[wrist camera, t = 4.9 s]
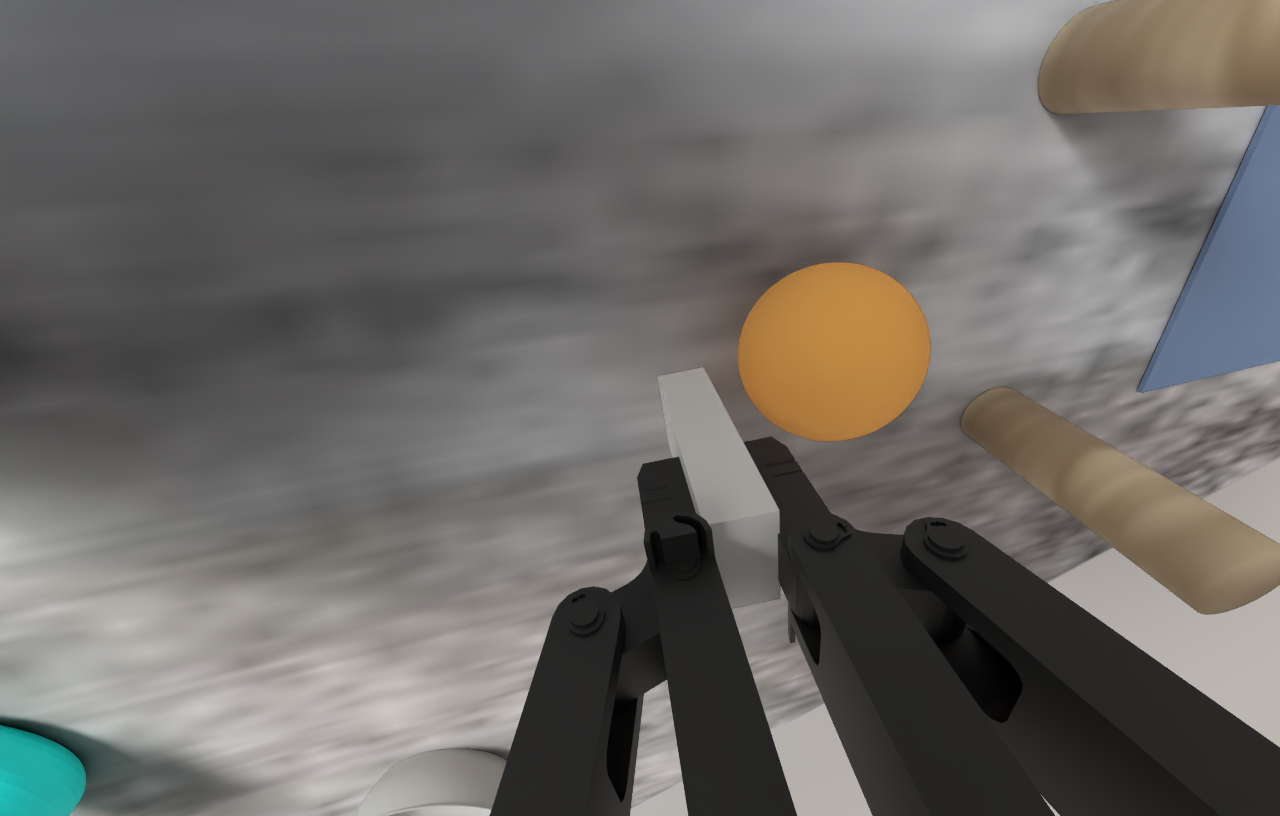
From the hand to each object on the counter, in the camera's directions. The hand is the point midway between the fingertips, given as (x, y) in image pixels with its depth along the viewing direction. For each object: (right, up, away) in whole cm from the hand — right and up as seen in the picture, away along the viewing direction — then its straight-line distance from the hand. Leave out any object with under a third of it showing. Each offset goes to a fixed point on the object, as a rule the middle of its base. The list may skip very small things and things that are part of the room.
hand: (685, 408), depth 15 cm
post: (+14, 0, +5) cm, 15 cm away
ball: (+4, +2, -1) cm, 5 cm away
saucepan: (-11, -24, +16) cm, 31 cm away
